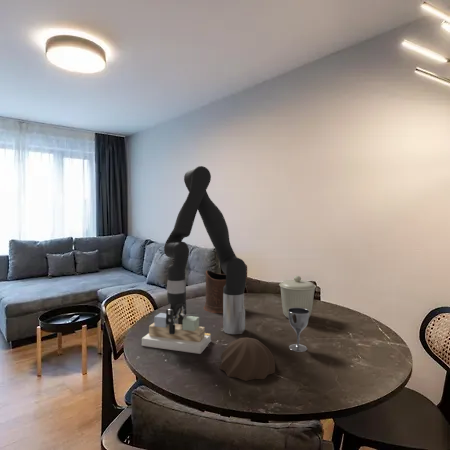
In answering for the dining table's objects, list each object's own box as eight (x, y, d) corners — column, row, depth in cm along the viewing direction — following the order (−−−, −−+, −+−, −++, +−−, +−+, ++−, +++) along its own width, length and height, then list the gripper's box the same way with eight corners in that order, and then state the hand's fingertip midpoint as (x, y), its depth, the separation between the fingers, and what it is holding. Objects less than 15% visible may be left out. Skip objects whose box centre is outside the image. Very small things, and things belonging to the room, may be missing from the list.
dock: (210, 341, 135) (210, 333, 135) (200, 353, 123) (200, 345, 123) (156, 334, 142) (156, 327, 142) (141, 345, 130) (141, 337, 130)
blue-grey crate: (171, 323, 136) (171, 314, 136) (165, 327, 131) (165, 317, 131) (160, 322, 137) (160, 312, 137) (154, 326, 132) (154, 316, 132)
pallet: (204, 336, 132) (204, 327, 132) (199, 342, 127) (199, 332, 127) (155, 330, 138) (155, 321, 138) (149, 335, 133) (149, 326, 133)
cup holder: (206, 302, 191) (206, 259, 190) (248, 304, 188) (248, 260, 186) (200, 312, 173) (200, 265, 171) (245, 314, 169) (245, 266, 168)
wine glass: (296, 353, 124) (297, 314, 123) (283, 346, 131) (284, 309, 130) (312, 349, 127) (313, 311, 127) (299, 342, 134) (299, 306, 134)
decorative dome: (236, 387, 101) (236, 355, 101) (210, 360, 119) (210, 333, 118) (287, 373, 110) (287, 344, 109) (256, 350, 127) (256, 325, 127)
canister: (323, 318, 163) (324, 277, 162) (297, 326, 153) (298, 281, 152) (296, 309, 178) (296, 271, 177) (271, 315, 168) (271, 274, 167)
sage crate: (199, 326, 132) (199, 316, 132) (194, 331, 127) (194, 321, 127) (187, 325, 134) (187, 315, 133) (182, 329, 129) (182, 319, 129)
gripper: (177, 295, 124) (177, 337, 125) (191, 287, 137) (192, 325, 138) (159, 294, 126) (160, 335, 127) (175, 285, 139) (175, 323, 140)
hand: (176, 330), depth 132 cm, fingers open, 8 cm apart
